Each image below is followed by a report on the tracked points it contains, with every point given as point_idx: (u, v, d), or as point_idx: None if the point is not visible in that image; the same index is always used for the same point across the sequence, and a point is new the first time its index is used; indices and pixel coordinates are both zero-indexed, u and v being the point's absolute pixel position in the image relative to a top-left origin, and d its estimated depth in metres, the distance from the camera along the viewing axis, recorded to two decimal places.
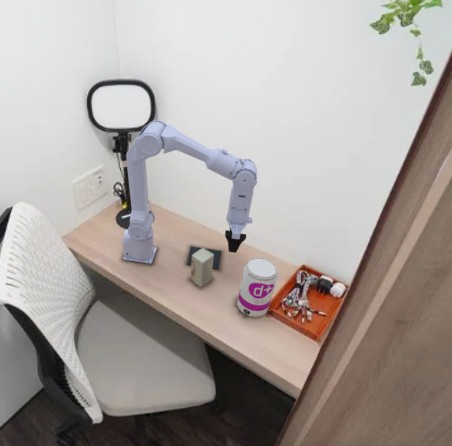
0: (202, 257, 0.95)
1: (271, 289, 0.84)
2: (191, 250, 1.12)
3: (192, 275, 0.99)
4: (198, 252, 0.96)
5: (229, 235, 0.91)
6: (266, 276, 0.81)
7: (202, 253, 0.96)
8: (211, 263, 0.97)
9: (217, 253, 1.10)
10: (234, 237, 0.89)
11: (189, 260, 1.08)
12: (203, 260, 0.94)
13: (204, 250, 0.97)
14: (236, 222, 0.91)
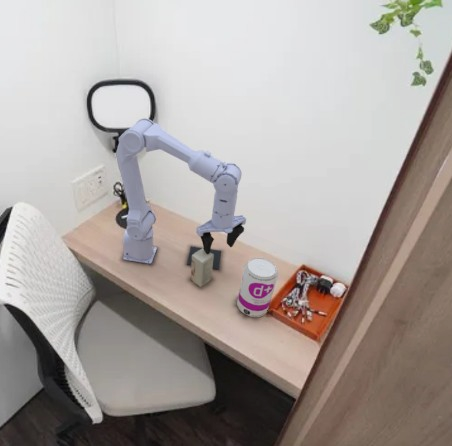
0: (202, 257, 0.95)
1: (271, 289, 0.84)
2: (191, 250, 1.12)
3: (192, 275, 0.99)
4: (198, 252, 0.96)
5: None
6: (266, 276, 0.81)
7: (202, 253, 0.96)
8: (211, 263, 0.97)
9: (217, 253, 1.10)
10: (197, 232, 0.91)
11: (189, 260, 1.08)
12: (203, 260, 0.94)
13: None
14: (212, 223, 0.91)
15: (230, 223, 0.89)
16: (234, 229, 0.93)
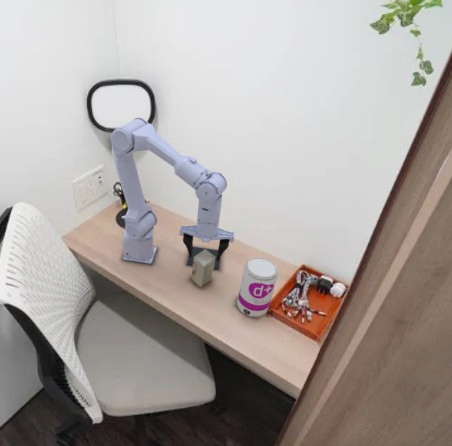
0: (204, 260, 0.93)
1: (271, 289, 0.84)
2: None
3: (193, 275, 0.99)
4: (200, 254, 0.95)
5: None
6: (266, 276, 0.81)
7: (204, 255, 0.95)
8: (213, 265, 0.96)
9: None
10: None
11: (189, 260, 1.08)
12: (205, 263, 0.93)
13: (206, 252, 0.96)
14: (196, 228, 0.91)
15: (209, 233, 0.88)
16: (219, 243, 0.91)
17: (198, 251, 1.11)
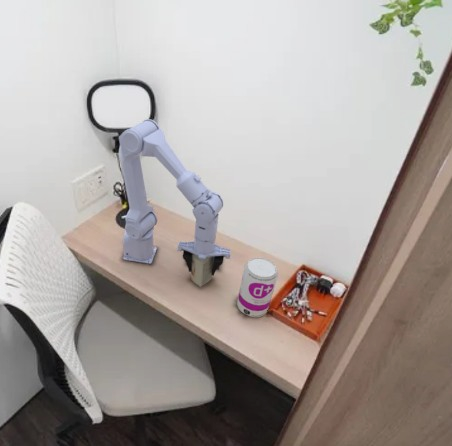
0: None
1: (271, 289, 0.84)
2: None
3: (192, 275, 1.00)
4: None
5: None
6: (266, 276, 0.81)
7: None
8: (211, 263, 0.97)
9: None
10: None
11: None
12: (203, 260, 0.94)
13: None
14: (194, 244, 0.94)
15: (206, 250, 0.91)
16: (214, 259, 0.94)
17: None
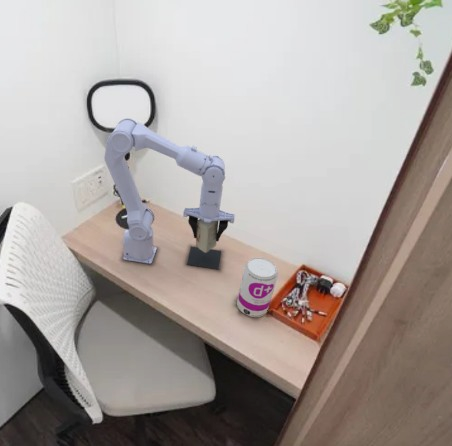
0: None
1: (271, 289, 0.84)
2: (191, 250, 1.12)
3: (197, 241, 1.02)
4: None
5: None
6: (266, 276, 0.81)
7: None
8: (216, 229, 1.00)
9: (217, 253, 1.10)
10: None
11: (189, 260, 1.08)
12: (208, 225, 0.96)
13: None
14: (199, 210, 0.97)
15: (211, 214, 0.94)
16: (219, 223, 0.97)
17: (198, 251, 1.11)
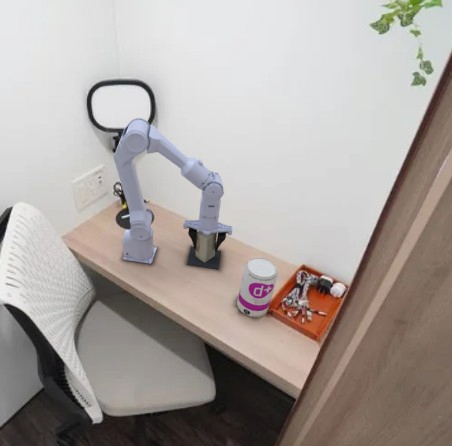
0: None
1: (271, 289, 0.84)
2: (191, 250, 1.12)
3: (197, 251, 1.07)
4: None
5: None
6: (266, 276, 0.81)
7: None
8: (214, 240, 1.05)
9: (217, 253, 1.10)
10: None
11: (189, 260, 1.08)
12: (207, 236, 1.02)
13: None
14: (198, 222, 1.02)
15: (210, 227, 0.99)
16: None
17: None
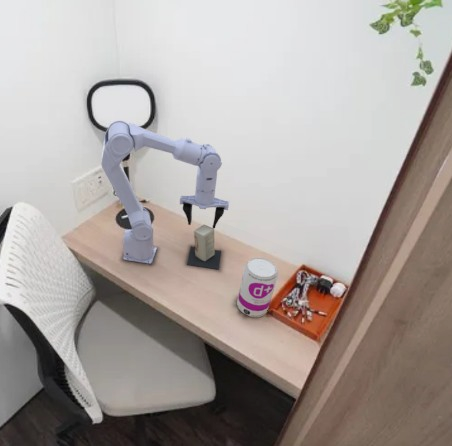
0: (203, 231, 1.03)
1: (271, 289, 0.84)
2: (191, 250, 1.12)
3: (196, 251, 1.08)
4: (200, 228, 1.05)
5: None
6: (266, 276, 0.81)
7: (203, 228, 1.05)
8: (212, 237, 1.05)
9: (217, 253, 1.10)
10: None
11: (189, 260, 1.08)
12: (204, 234, 1.02)
13: (205, 226, 1.06)
14: (195, 197, 1.02)
15: (206, 201, 0.98)
16: None
17: None
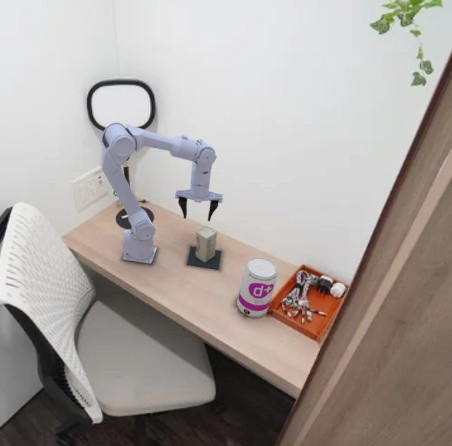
0: (206, 234, 1.03)
1: (271, 289, 0.84)
2: (191, 250, 1.12)
3: (197, 251, 1.08)
4: (202, 230, 1.04)
5: None
6: (266, 276, 0.81)
7: (206, 230, 1.04)
8: (214, 240, 1.05)
9: (217, 253, 1.10)
10: None
11: (189, 260, 1.08)
12: (207, 236, 1.02)
13: (208, 228, 1.05)
14: (190, 191, 1.04)
15: (201, 194, 1.01)
16: (210, 204, 1.04)
17: None
